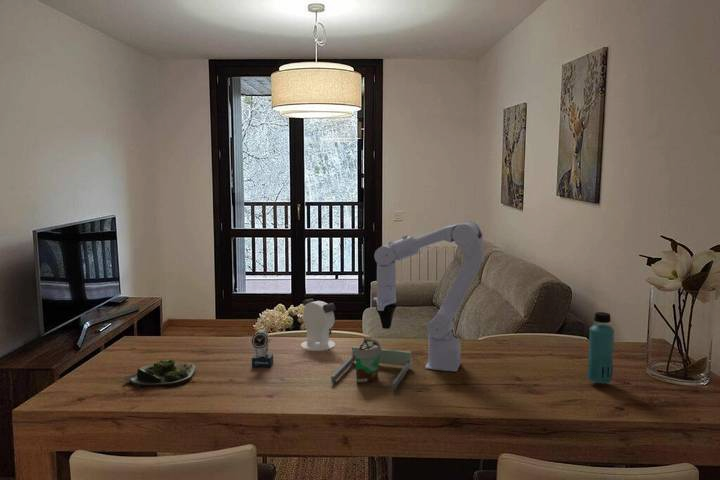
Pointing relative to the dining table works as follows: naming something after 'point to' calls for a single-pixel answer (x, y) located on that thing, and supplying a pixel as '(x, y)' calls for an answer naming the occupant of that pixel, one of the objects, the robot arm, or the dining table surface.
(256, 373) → the dining table surface
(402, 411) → the dining table surface
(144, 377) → the salad plate
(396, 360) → the grey u-shaped frame
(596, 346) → the beverage bottle
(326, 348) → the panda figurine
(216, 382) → the dining table surface
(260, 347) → the watch
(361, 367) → the food container
